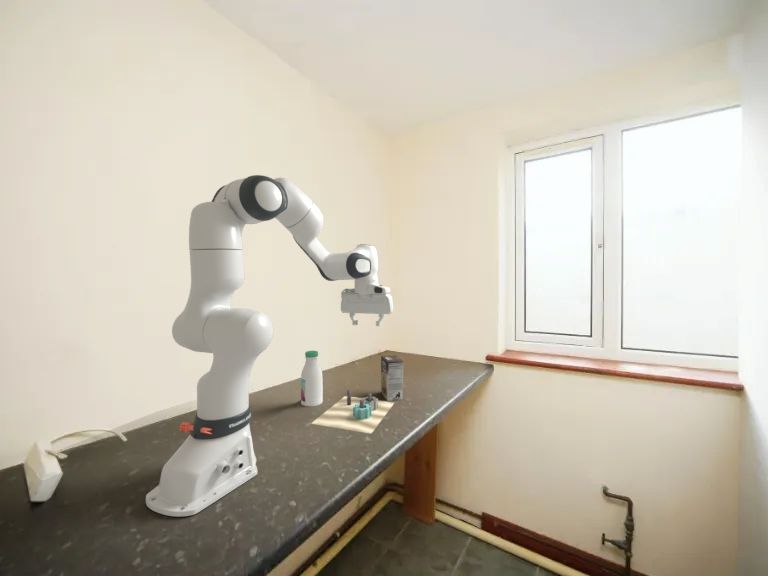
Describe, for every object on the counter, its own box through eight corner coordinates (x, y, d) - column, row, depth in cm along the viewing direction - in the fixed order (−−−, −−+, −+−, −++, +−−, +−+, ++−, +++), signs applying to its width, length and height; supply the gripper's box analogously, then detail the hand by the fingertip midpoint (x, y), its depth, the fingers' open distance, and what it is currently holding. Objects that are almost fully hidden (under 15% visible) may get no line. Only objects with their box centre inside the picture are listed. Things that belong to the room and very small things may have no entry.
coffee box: (380, 396, 119) (380, 355, 119) (395, 394, 121) (395, 354, 121) (387, 405, 111) (387, 361, 110) (403, 403, 112) (403, 360, 112)
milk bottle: (325, 402, 113) (325, 349, 113) (318, 410, 106) (318, 354, 105) (305, 401, 114) (305, 349, 114) (297, 409, 106) (297, 353, 106)
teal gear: (367, 420, 95) (367, 411, 95) (350, 418, 97) (350, 408, 96) (373, 413, 100) (373, 404, 100) (357, 410, 102) (357, 402, 102)
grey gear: (376, 412, 101) (376, 403, 101) (359, 410, 102) (359, 402, 102) (379, 405, 107) (379, 396, 107) (363, 404, 108) (363, 395, 108)
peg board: (371, 438, 86) (371, 416, 86) (310, 428, 93) (310, 407, 93) (394, 406, 109) (394, 388, 109) (345, 399, 116) (345, 383, 116)
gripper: (337, 288, 112) (337, 325, 113) (389, 288, 106) (389, 327, 106) (344, 288, 118) (345, 323, 119) (394, 288, 112) (394, 325, 112)
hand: (366, 325), depth 112 cm, fingers open, 8 cm apart
